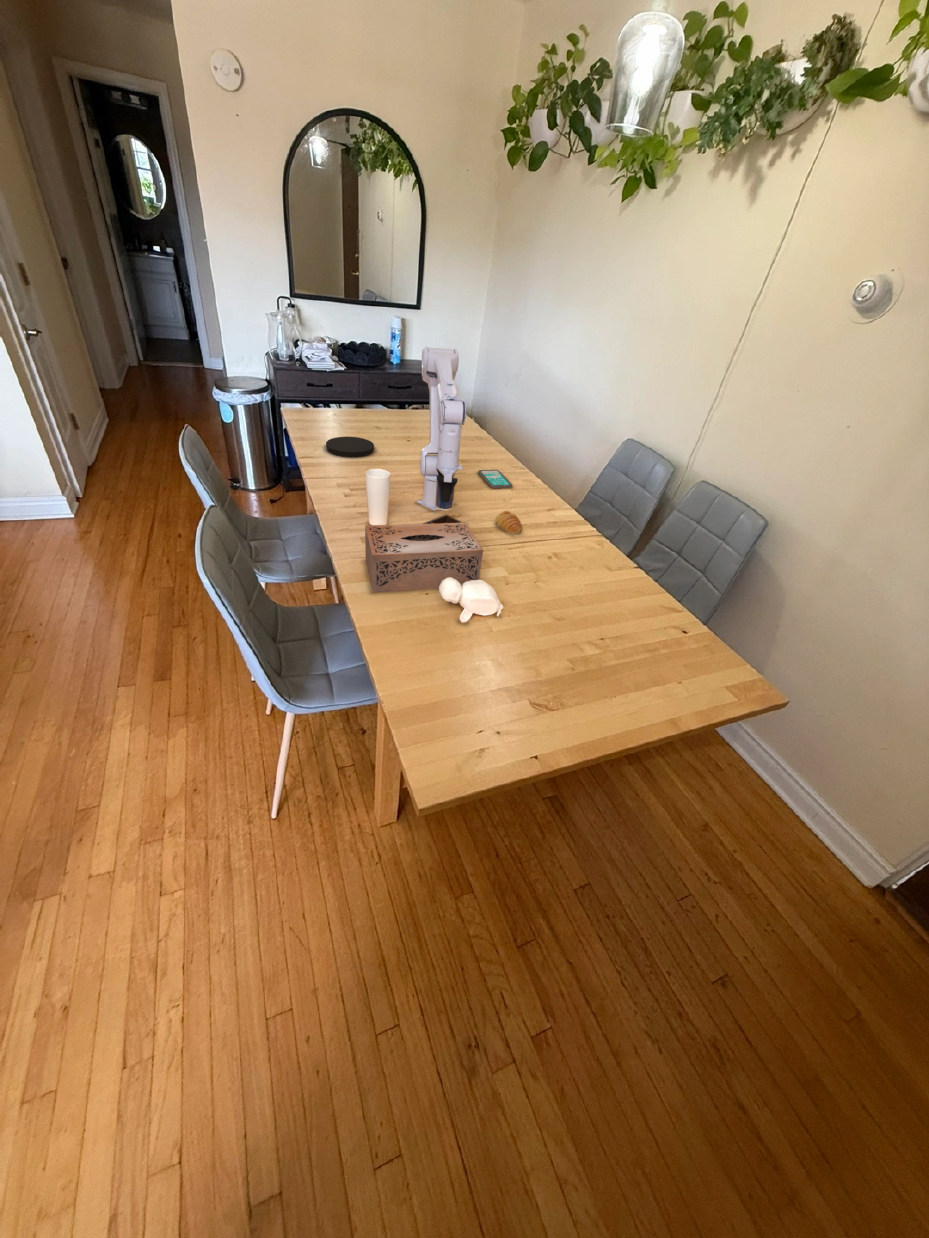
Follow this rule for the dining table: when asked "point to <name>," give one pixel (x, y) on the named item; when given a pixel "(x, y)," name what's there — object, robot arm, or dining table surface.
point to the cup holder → (443, 520)
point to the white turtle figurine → (471, 597)
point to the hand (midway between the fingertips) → (444, 497)
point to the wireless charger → (350, 447)
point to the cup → (444, 505)
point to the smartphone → (495, 479)
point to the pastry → (509, 522)
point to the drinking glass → (377, 495)
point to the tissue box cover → (420, 555)
